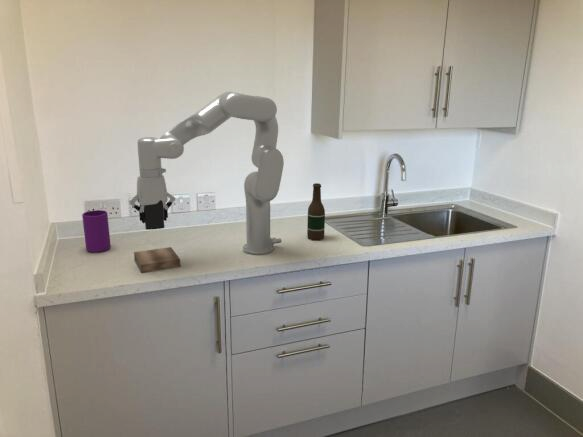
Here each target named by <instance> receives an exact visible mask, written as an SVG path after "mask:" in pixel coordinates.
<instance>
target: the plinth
mask: <svg viewBox="0 0 583 437" xmlns="http://www.w3.org/2000/svg"><path fill="white" fill-rule="evenodd" d="M133 255H134V262H135V264H136V266H137V268H138V269H139V271H140V273H141V274H143V273H148V272H149V273H150V272H155V271H162V270H168V269H174V268H180V267H181V259H180V257H179V256H178V254H177V253H176V252H175V251H174V249H173V248H172V247H171V246H169V247H168V246H167V247H161V248H154V249H148V250H141V251H134V252H133Z"/></svg>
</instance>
